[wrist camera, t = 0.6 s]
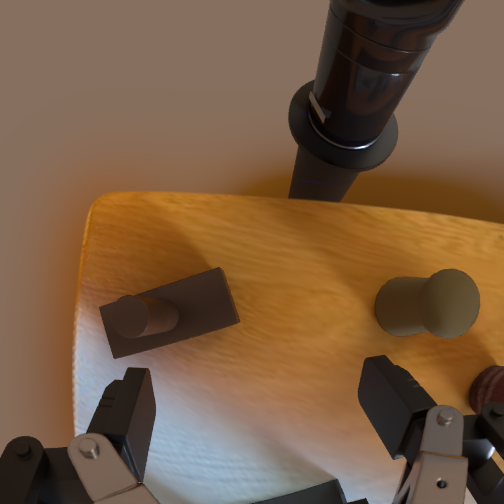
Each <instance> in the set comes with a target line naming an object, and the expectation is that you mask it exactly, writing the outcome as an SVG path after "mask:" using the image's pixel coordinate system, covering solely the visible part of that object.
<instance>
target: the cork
mask: <svg viewBox="0 0 504 504" xmlns="http://www.w3.org/2000/svg"><path fill="white" fill-rule="evenodd" d="M479 309H480V295H479V291H478V288H477V286H476V284H475V283H474V281H473V280H472V278H471V277H470V276H468V275H467V274H466V273H465V272H463V271H460V270H457V269H444V270H441V271H439V272H437V273H435V274H433V275H432V276H431V277H430V278H418V277H396V278H394V279H392V280H389V281H388V282H387V283H386V284H385V285H384V286H383V287H382V288H381V290H380V291H379V293H378V295H377V299H376V303H375V312H376V317H377V320H378V322H379V324H380V325H381V327H382V328H383V329H384V330H385V331H386V332H388V333H389V334H391V335H394V336H398V337H401V336H408V335H414V334H420V333H426V332H431V333H432V334H433V335H435V336H437V337H441V338H446V339H450V338H455V337H459V336H461V335H462V334H464V333H466V332H467V331H468V330H469V329H470V328H471V326H472V325H473V324H474V323H475V321H476V318H477V316H478V314H479Z"/></svg>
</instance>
